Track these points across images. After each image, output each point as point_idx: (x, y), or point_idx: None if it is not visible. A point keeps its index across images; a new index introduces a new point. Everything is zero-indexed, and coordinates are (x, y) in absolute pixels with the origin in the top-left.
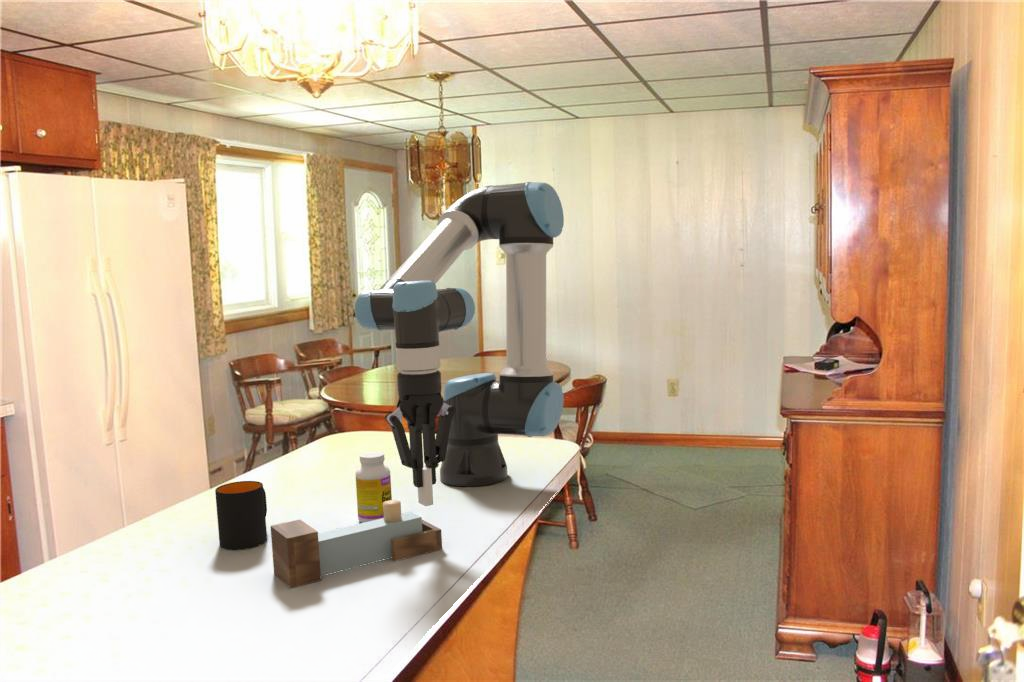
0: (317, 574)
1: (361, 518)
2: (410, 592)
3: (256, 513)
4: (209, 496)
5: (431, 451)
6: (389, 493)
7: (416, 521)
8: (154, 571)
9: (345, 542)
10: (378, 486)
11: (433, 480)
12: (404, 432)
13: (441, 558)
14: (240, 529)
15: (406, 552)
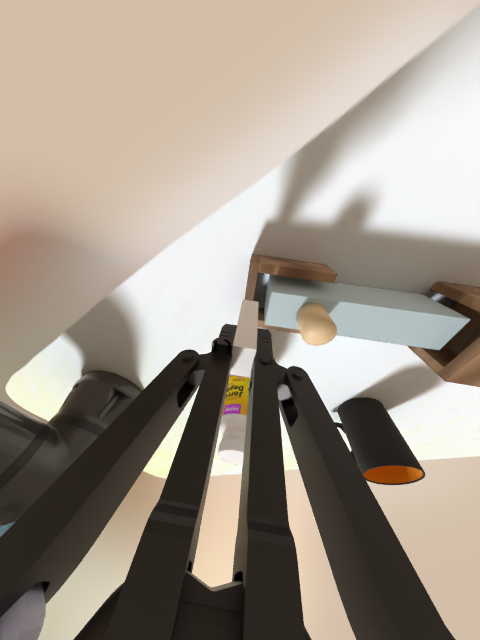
0: (449, 285)
1: None
2: (449, 92)
3: (378, 431)
4: (293, 467)
5: (217, 387)
6: (230, 392)
7: (281, 291)
8: (460, 411)
9: (409, 306)
10: (245, 405)
11: (228, 329)
12: (367, 553)
13: (278, 220)
14: (389, 420)
15: (310, 264)
